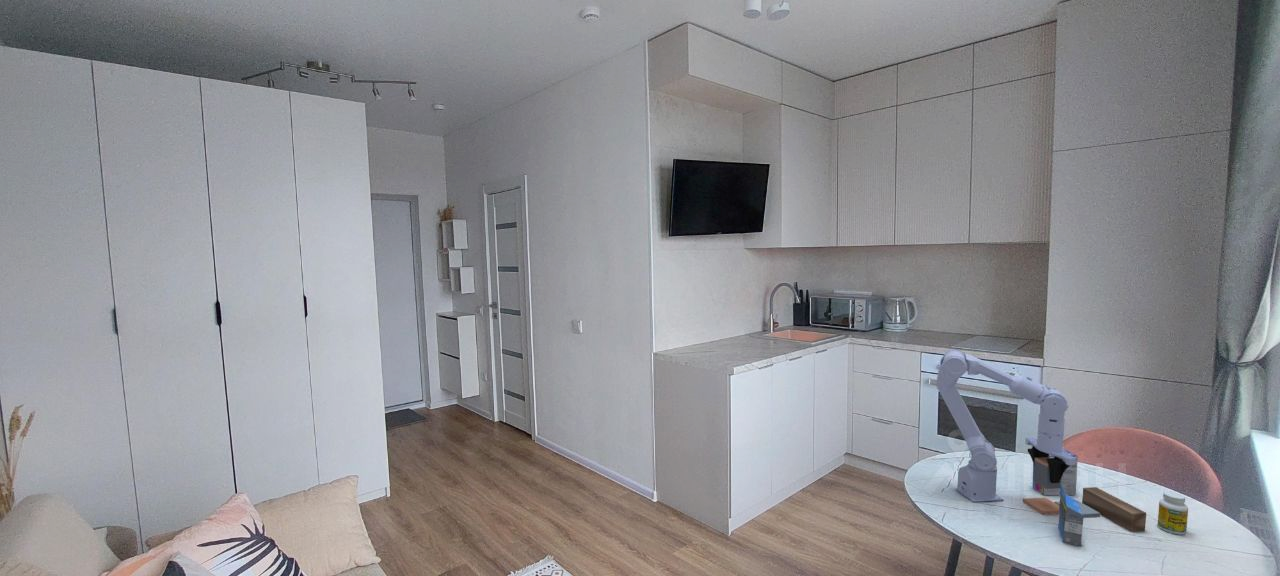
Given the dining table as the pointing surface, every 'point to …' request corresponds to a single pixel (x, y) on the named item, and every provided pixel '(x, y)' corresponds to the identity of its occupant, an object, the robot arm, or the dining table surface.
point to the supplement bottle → (1173, 513)
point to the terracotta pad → (1042, 505)
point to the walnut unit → (1114, 509)
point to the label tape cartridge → (1070, 519)
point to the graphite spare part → (1043, 474)
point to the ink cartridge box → (1067, 480)
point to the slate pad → (1085, 510)
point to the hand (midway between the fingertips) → (1047, 478)
